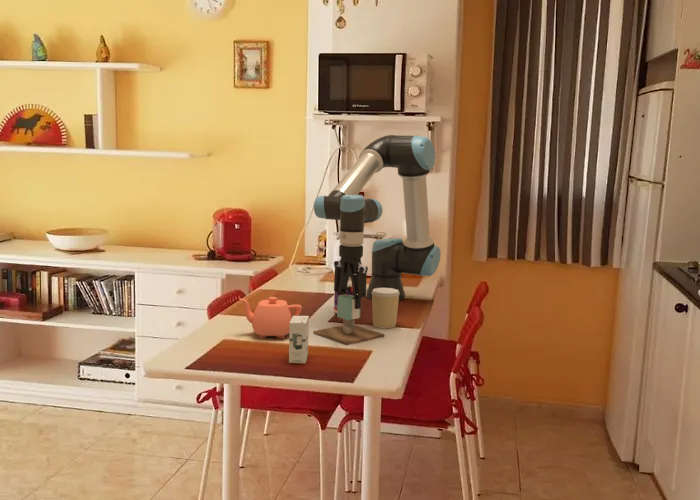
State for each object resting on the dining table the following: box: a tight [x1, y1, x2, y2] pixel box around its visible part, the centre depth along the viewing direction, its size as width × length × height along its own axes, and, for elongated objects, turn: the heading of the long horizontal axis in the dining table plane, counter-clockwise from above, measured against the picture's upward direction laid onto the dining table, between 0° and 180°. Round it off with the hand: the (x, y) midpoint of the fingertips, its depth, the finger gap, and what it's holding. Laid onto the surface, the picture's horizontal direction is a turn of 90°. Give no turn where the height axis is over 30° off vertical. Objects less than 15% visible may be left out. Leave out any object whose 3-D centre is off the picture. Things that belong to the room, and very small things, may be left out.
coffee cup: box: [371, 288, 400, 329], centre depth 254 cm, size 9×9×12 cm
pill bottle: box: [333, 274, 355, 314], centre depth 268 cm, size 8×8×14 cm
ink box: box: [288, 315, 310, 364], centre depth 215 cm, size 9×5×12 cm, turn 178°
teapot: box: [238, 296, 303, 340], centre depth 238 cm, size 13×20×12 cm, turn 91°
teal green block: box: [336, 295, 362, 320], centre depth 240 cm, size 5×5×7 cm
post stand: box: [312, 319, 385, 346], centre depth 241 cm, size 16×16×6 cm
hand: (349, 316), depth 240 cm, fingers closed on teal green block, 5 cm apart
